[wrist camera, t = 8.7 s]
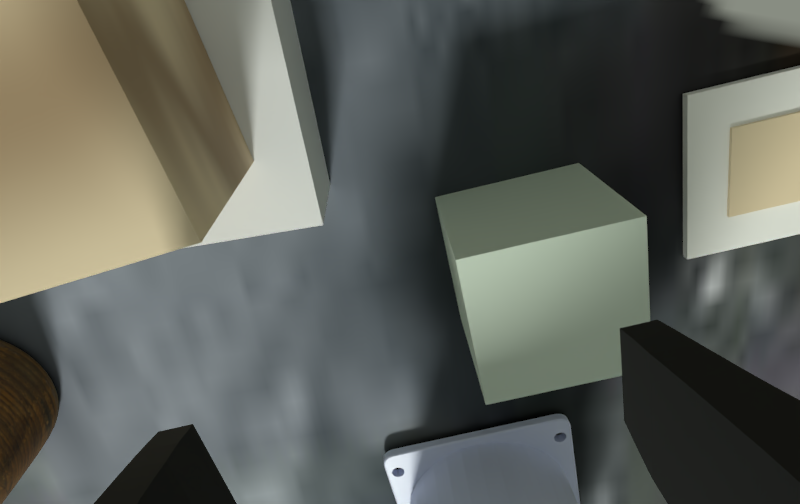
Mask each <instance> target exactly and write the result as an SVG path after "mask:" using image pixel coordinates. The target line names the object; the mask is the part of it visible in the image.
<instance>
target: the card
mask: <svg viewBox="0 0 800 504" xmlns="http://www.w3.org/2000/svg"><path fill="white" fill-rule="evenodd" d="M797 234H800V65H799V66H795V67H791V68H787V69H783V70H778V71H774V72H770V73H766V74H762V75H758V76H754V77H750V78H745V79H741V80H737V81H733V82H729V83H725V84H721V85H717V86H712V87H708V88H704V89H700V90H696V91H692V92H688V93H684V94H683V257H685V258H686V259H687V260H688V259H692V258H696V257H701V256H705V255H709V254H714V253H718V252H723V251H727V250H731V249H736V248H740V247H745V246H749V245H753V244H758V243H762V242H766V241H771V240H775V239H780V238H784V237H788V236H793V235H797Z"/></svg>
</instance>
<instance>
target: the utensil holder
mask: <svg viewBox="0 0 800 504" xmlns="http://www.w3.org/2000/svg"><path fill="white" fill-rule="evenodd" d="M58 410H59V402H58V395H57V392H56V389H55V386H54V384H53V382H52V380H51V378H50V377H49V375H48V374H47V373H46V371H45V370H44V369H43V368H42V367H41V366H40V365H39V364H38V363H37V362H36V361H35V360H34V359H33V358H32V357H31V356H29V355H28V354H27V353H25V352H24V351H22V350H20V349H19V348H17V347H15V346H13V345H11V344H9V343H7V342H5V341H2V340H0V504H2V503H3V501H4V500H5V499H6V497H7V496H8V495H9V493H10V492H11V491H12V489H13V488H14V486H15V485H16V484H17V482H18V481H19V480H20V478H21V477H22V475H23V474H24V473H25V471H26V470H27V468H28V467H29V466H30V464H31V463H32V461H33V460H34V459H35V457H36V456H37V454H38V453H39V451H40V450H41V448H42V447H43V445H44V444H45V442H46V441H47V439H48V437H49V436H50V434H51V432H52V430H53V428H54V426H55V423H56V420H57V416H58Z"/></svg>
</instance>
